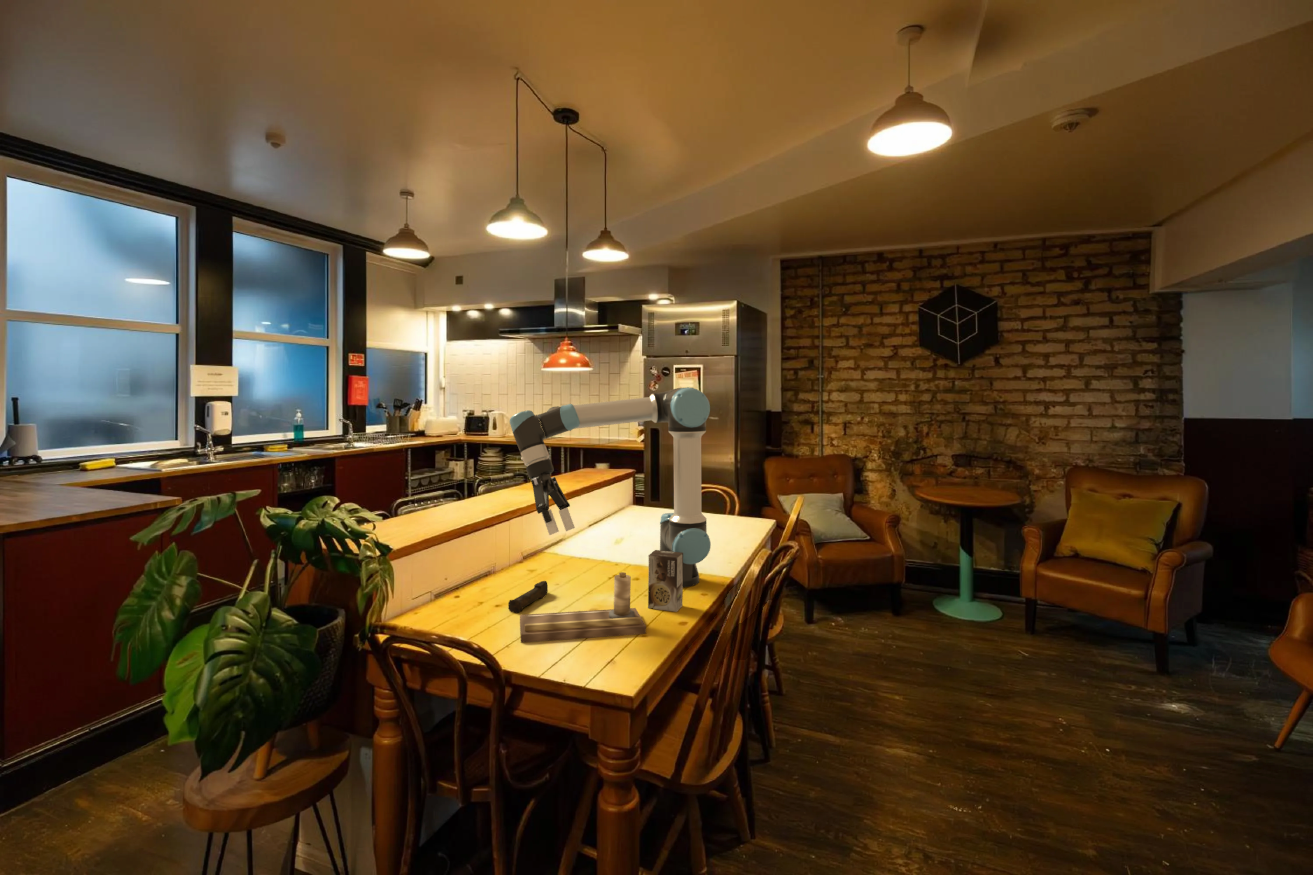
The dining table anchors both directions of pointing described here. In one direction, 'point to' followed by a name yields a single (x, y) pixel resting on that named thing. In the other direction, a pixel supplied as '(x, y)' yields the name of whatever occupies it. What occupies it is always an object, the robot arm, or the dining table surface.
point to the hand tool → (528, 597)
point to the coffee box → (665, 580)
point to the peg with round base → (622, 597)
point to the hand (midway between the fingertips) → (562, 531)
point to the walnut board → (578, 625)
